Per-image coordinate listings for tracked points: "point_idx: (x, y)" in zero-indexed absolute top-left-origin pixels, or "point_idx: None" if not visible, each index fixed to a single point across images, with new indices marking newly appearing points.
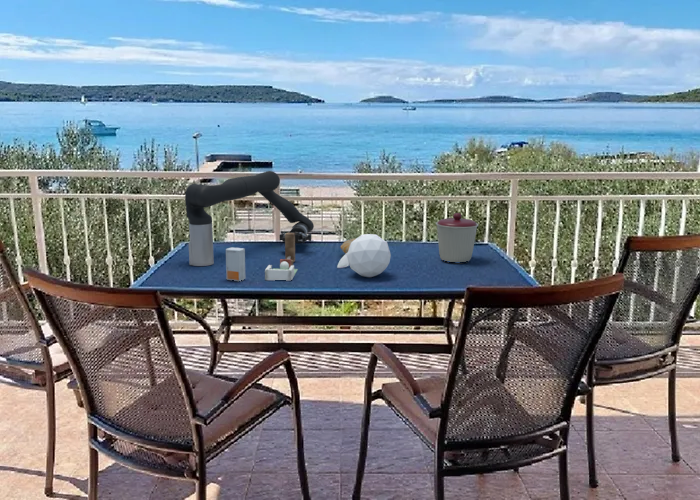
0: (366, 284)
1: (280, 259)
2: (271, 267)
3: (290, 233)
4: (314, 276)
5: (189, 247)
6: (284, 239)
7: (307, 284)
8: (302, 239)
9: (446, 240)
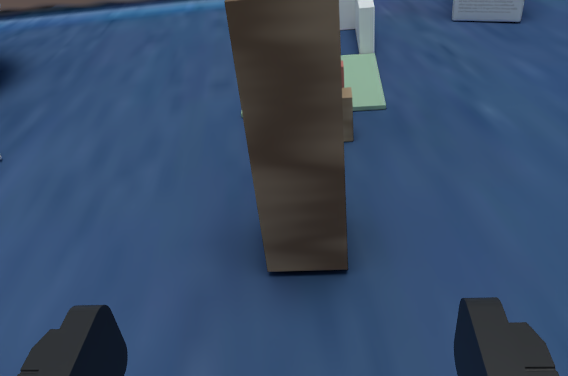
0: (4, 43)
1: (341, 62)
2: (358, 15)
3: None
4: (166, 67)
5: None
6: (463, 317)
7: (205, 22)
8: (112, 320)
9: None
